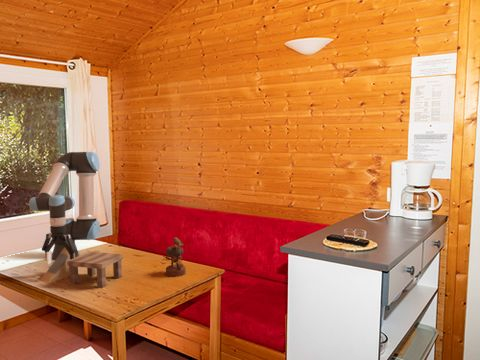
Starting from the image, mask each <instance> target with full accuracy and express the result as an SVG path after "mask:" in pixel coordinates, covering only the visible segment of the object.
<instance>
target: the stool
mask: <svg viewBox="0 0 480 360" xmlns="http://www.w3.org/2000/svg"><path fill="white" fill-rule="evenodd" d="M123 257H124V256H123V254H121V253H111V252H110V253H109V252H97V251H88V252H86V253H83V254H81V255H78V256H77V257H75V258H73V259H71V260H68V261H67V266H69V277H68V279H69V285H73V286H75V285H77V284H79V283H80V281H79V268H84V269H85V268H86V270H87V271H86V272H87V276H88V275H89V276H91V277H93V276H95V275H96V287H97V288H101V289H103V288H106V286H107V278H106V277H107V276H106V275H107V274H106V271H107V270H106V268H107V267H109V266H111V265H112V266H113V270H112V271H113V272H112V273H113V279H116V280H117V279H121V278H122V277H123V273H122V272H123V270H122V268H123V267H122V259H123ZM89 276H88V277H89Z"/></svg>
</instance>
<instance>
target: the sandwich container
mask: <svg viewBox="0 0 480 360" xmlns="http://www.w3.org/2000/svg"><path fill="white" fill-rule="evenodd" d="M68 254H69V252H68V251H67V250H66V248H65V247H64V249H63V250H62V252H61V253H60V254H59V256H58V257H57V258H56V259H54V261H53V263H51V264H50V267H48V269H47V270H46V272H45V273H44V275H43V276H42V277H41V278H40V281H43V282H44V283H49V284H50V283H52V282H56V281H60V280H63V279H66V278H69V267H68V266H67V261H68ZM74 258H76V257H75V253H74Z"/></svg>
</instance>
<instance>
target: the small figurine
mask: <svg viewBox="0 0 480 360" xmlns="http://www.w3.org/2000/svg"><path fill="white" fill-rule="evenodd" d="M172 240H173V243H174V245H171V246H168V247H167V248H166V249H165V254H166V255H167V256H164V255H163V258H165V259H166V260H169V261H171V262H170V265H168V266H166V268H165V275H166V277H171V278H176V277H178V278H179V277H182V276H184V275H186V274H187V273H186V271H187V270H186V268H187V267H186V266H184V263H183V262H182V261H181V260H183V257H182V255H183V254H184V248H183V247H182V246H184V245H185V244H184V243H183V242H182V241H181V239H179V238H178V237H174V238H173V239H172Z"/></svg>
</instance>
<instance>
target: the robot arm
mask: <svg viewBox="0 0 480 360" xmlns="http://www.w3.org/2000/svg"><path fill="white" fill-rule="evenodd" d="M99 160H100V159H99V156H98V155H97V153H96V152H93V151H71V152H66V153H64V154H63V155H60V156H59V157H58V158H57V159H56V160H55V162H54V163H53V164H52V167H51V169H52V170H51V172H50V174H49V175H48V177H47V179H46V180H45V183H44V185H43V186H42V188H41V190H40V191H39V194H38V195H37V196H33V197H31V198H30V199H29V201H28V207H29V209H30V211H34V212H49V224H50V226H49V229H50V232H49V233H46V234H45V238H44V242H43V245H42V247H41V251H42V252H44V253H45V259H46V265H52V264H53V263H52V259H53V260H56V258H57V257H58V256H59V254H60V253H61V252H62V250H63V249H64V247H65V248H66V250H67V251H68V252H69V254H68V260H71V259H73V258H74V253H75V258H76V257H78V256H80V255H79V254H80V253H79V250H78V247H77V245H76V241H90V240H91V241H93V240H95V239H97V238H98V237H99V234H100V228H101V224H100V220H97V217H96V216H95V212H94V211H95V209H94V208H95V207H94V206H95V204H94V203H95V201H94V200H95V199H94V198H95V196H94V191H95V188H94V187H95V186H94V184H95V181H94V178H95V176H96V175H97V172H99V170H100V161H99ZM69 172H75V175H77V176H78V216H77V217H76V219H74V218H72V217H70V218H67V217H66V211H67V212H68V211H70V210H72V209H73V208H74V207H75V204H76V201H75V199H74V198H73V197H72V196H68V195H65V196H64V195H62V194H58V195H57V194H56V193H57V191H58V190H59V187H60V186H61V184H62V182H63V180H64V178H65V176H67V175H68V174H69ZM52 248H53V250H52V251H51V249H52ZM68 267H69V266H68Z"/></svg>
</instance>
